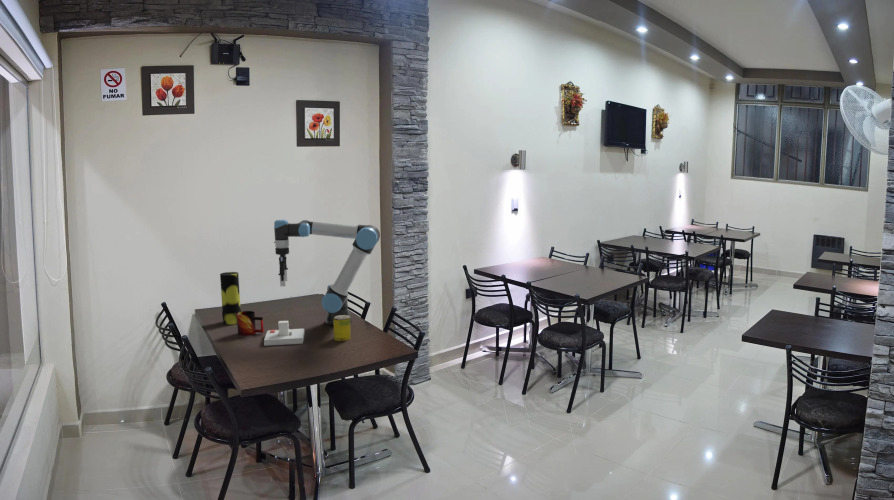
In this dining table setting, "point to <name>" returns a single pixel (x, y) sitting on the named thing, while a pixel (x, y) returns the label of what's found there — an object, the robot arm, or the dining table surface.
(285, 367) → the dining table surface
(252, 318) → the mug
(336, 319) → the yellow can
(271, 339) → the socket
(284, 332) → the plug
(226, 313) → the container
